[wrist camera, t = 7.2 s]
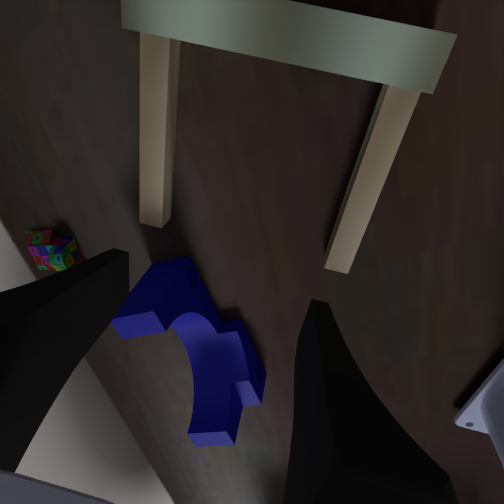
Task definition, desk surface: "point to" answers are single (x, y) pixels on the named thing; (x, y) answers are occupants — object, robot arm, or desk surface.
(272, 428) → the desk surface
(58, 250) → the multicolored checkered block
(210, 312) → the cable clip
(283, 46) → the channel
